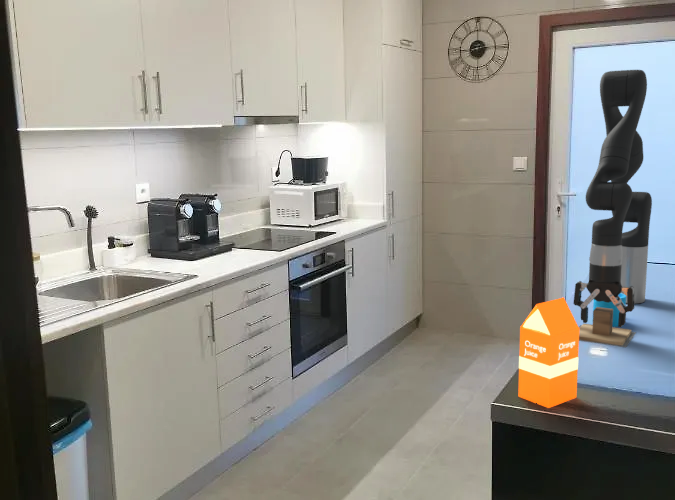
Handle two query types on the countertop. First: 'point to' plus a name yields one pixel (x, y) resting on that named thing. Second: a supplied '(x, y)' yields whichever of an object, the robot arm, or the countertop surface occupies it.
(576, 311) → the countertop surface
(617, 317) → the mug
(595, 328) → the oak lid
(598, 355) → the countertop surface
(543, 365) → the orange juice
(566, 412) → the countertop surface
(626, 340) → the rubber mat
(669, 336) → the countertop surface
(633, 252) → the robot arm
